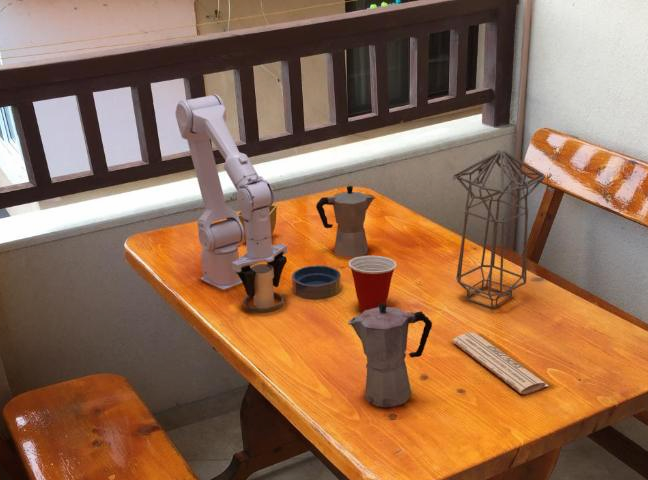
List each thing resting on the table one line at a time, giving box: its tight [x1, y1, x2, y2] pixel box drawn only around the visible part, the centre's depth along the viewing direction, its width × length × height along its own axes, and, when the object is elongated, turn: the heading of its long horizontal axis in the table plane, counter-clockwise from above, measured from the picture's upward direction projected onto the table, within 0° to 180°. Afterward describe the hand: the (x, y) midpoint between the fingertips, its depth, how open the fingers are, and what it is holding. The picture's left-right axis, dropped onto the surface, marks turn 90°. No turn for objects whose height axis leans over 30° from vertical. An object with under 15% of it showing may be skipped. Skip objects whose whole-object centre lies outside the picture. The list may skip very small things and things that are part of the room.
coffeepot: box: [315, 185, 376, 259], centre depth 222 cm, size 15×9×18 cm, turn 103°
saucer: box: [242, 291, 285, 314], centre depth 201 cm, size 9×10×2 cm
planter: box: [291, 264, 342, 300], centre depth 207 cm, size 12×12×4 cm
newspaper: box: [452, 332, 550, 395], centre depth 176 cm, size 24×7×2 cm, turn 28°
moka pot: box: [348, 303, 433, 408], centre depth 162 cm, size 10×15×20 cm, turn 95°
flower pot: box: [237, 204, 277, 241], centre depth 232 cm, size 9×9×9 cm
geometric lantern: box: [452, 150, 546, 309], centre depth 193 cm, size 16×16×35 cm
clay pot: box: [250, 263, 275, 308], centre depth 199 cm, size 6×6×9 cm
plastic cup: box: [348, 255, 397, 313], centre depth 196 cm, size 11×11×12 cm
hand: (262, 290), depth 199 cm, fingers open, 7 cm apart
